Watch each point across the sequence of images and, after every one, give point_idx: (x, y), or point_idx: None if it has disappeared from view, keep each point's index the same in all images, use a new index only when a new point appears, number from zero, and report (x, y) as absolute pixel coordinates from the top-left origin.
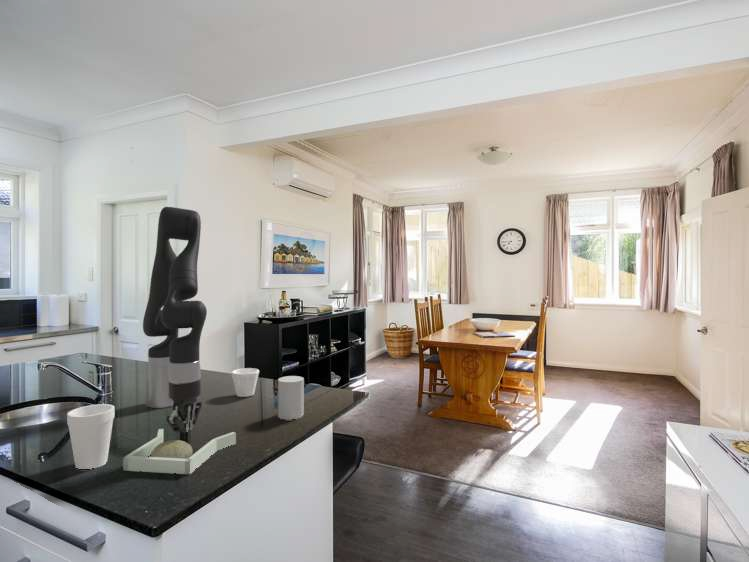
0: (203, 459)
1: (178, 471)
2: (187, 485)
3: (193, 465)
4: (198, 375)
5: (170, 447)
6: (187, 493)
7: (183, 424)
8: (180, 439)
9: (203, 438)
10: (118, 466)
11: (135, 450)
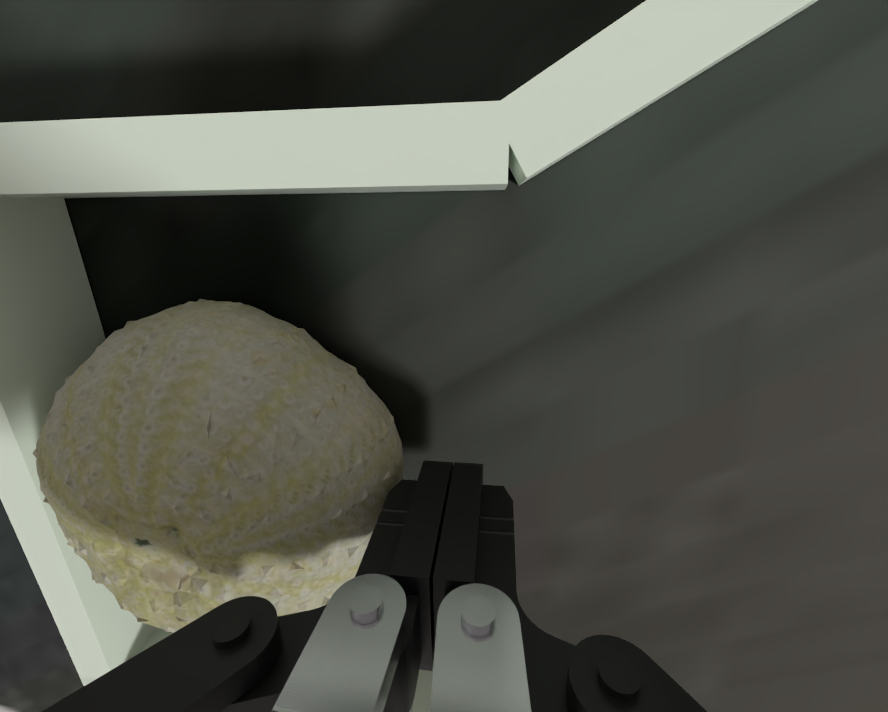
0: None
1: None
2: None
3: None
4: None
5: (98, 575)
6: (22, 663)
7: (453, 687)
8: (377, 528)
9: (776, 481)
10: (38, 23)
11: (25, 130)
